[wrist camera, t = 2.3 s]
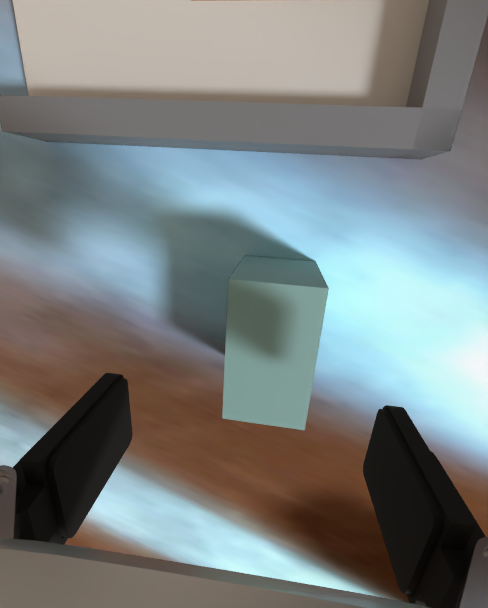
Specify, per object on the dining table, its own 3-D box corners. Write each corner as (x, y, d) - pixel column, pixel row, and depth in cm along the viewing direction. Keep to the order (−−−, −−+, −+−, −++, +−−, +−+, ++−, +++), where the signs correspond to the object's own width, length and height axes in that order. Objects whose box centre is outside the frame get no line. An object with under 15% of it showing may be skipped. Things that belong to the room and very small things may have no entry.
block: (315, 260, 18) (328, 288, 13) (299, 369, 21) (304, 430, 16) (244, 254, 19) (228, 279, 13) (238, 361, 22) (222, 418, 16)
